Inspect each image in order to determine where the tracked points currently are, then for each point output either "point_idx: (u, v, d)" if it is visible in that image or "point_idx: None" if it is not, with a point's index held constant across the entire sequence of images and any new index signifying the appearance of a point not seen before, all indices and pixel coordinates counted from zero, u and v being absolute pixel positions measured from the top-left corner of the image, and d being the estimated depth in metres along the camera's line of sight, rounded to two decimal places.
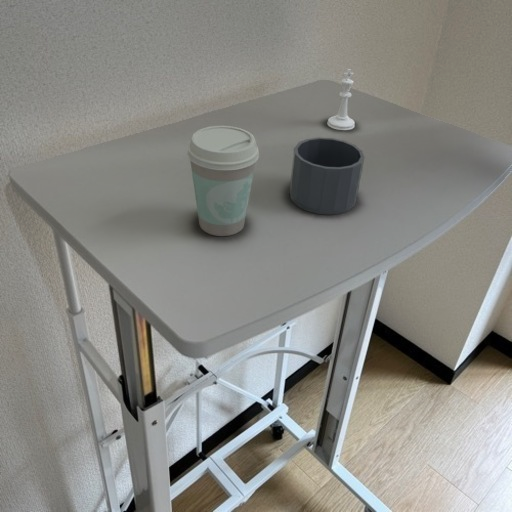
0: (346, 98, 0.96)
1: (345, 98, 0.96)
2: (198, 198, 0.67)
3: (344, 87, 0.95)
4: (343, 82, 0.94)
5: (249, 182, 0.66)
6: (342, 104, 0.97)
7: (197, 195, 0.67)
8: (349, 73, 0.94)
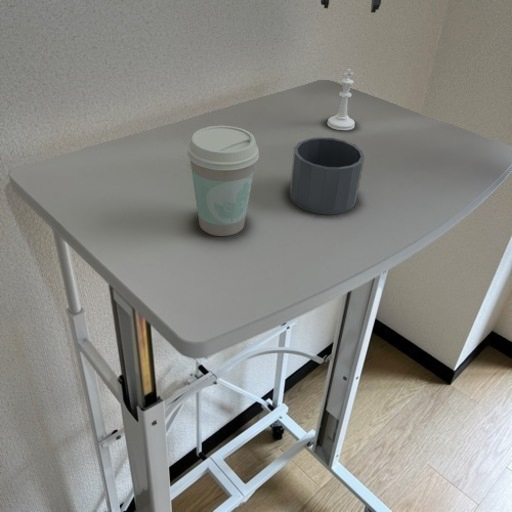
0: (346, 98, 0.96)
1: (345, 98, 0.96)
2: (198, 198, 0.67)
3: (344, 87, 0.95)
4: (343, 82, 0.94)
5: (249, 182, 0.66)
6: (342, 104, 0.97)
7: (197, 195, 0.67)
8: (349, 73, 0.94)
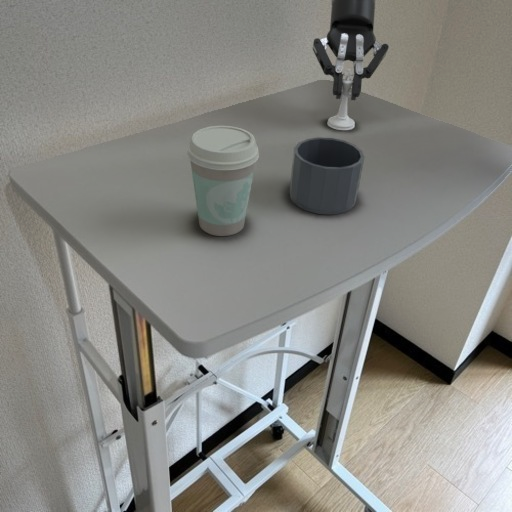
0: (346, 98, 0.96)
1: (345, 98, 0.96)
2: (198, 198, 0.67)
3: (344, 87, 0.95)
4: (343, 82, 0.94)
5: (249, 182, 0.66)
6: (342, 104, 0.97)
7: (197, 195, 0.67)
8: (349, 73, 0.94)
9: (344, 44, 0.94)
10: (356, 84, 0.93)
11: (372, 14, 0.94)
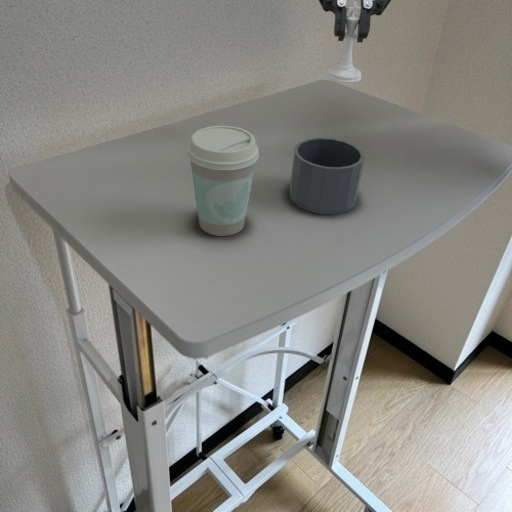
0: (351, 41, 0.76)
1: (350, 41, 0.76)
2: (198, 198, 0.67)
3: (348, 26, 0.75)
4: (347, 19, 0.74)
5: (249, 182, 0.66)
6: (346, 49, 0.77)
7: (197, 195, 0.67)
8: (355, 7, 0.73)
9: None
10: (364, 21, 0.73)
11: None
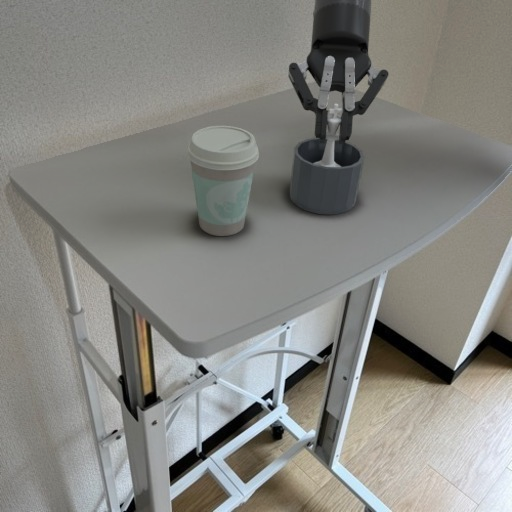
0: (332, 141, 0.73)
1: (331, 141, 0.73)
2: (198, 198, 0.67)
3: (330, 127, 0.72)
4: (328, 121, 0.71)
5: (249, 182, 0.66)
6: (327, 149, 0.74)
7: (197, 195, 0.67)
8: (336, 109, 0.70)
9: (329, 71, 0.71)
10: (345, 124, 0.70)
11: (366, 30, 0.71)
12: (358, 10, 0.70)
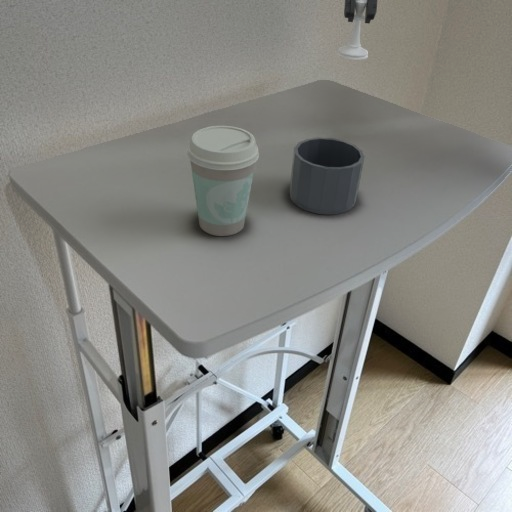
0: (359, 22, 0.84)
1: (358, 22, 0.84)
2: (198, 198, 0.67)
3: (357, 8, 0.83)
4: (356, 2, 0.82)
5: (249, 182, 0.66)
6: (354, 29, 0.85)
7: (197, 195, 0.67)
8: None
9: None
10: (371, 3, 0.81)
11: None
12: None
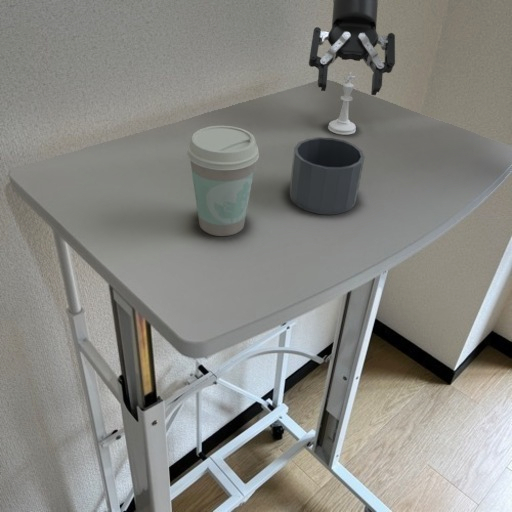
0: (347, 102, 0.95)
1: (346, 102, 0.95)
2: (198, 198, 0.67)
3: (345, 91, 0.93)
4: (344, 86, 0.93)
5: (249, 182, 0.66)
6: (343, 108, 0.95)
7: (197, 195, 0.67)
8: (350, 77, 0.92)
9: (342, 41, 0.92)
10: (377, 79, 0.92)
11: (375, 12, 0.92)
12: None
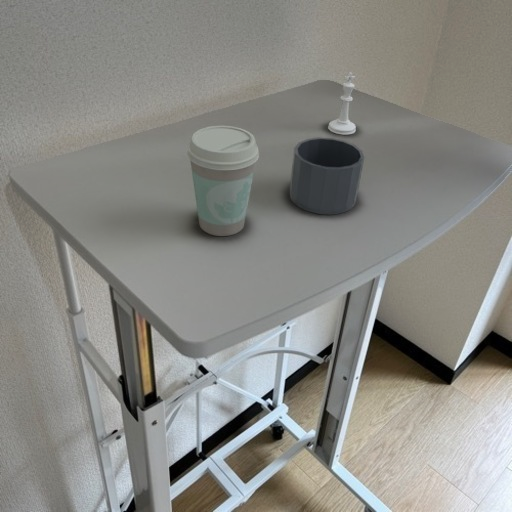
0: (347, 102, 0.95)
1: (346, 102, 0.95)
2: (198, 198, 0.67)
3: (345, 91, 0.93)
4: (344, 86, 0.93)
5: (249, 182, 0.66)
6: (343, 108, 0.95)
7: (197, 195, 0.67)
8: (350, 77, 0.92)
9: None
10: None
11: None
12: None
